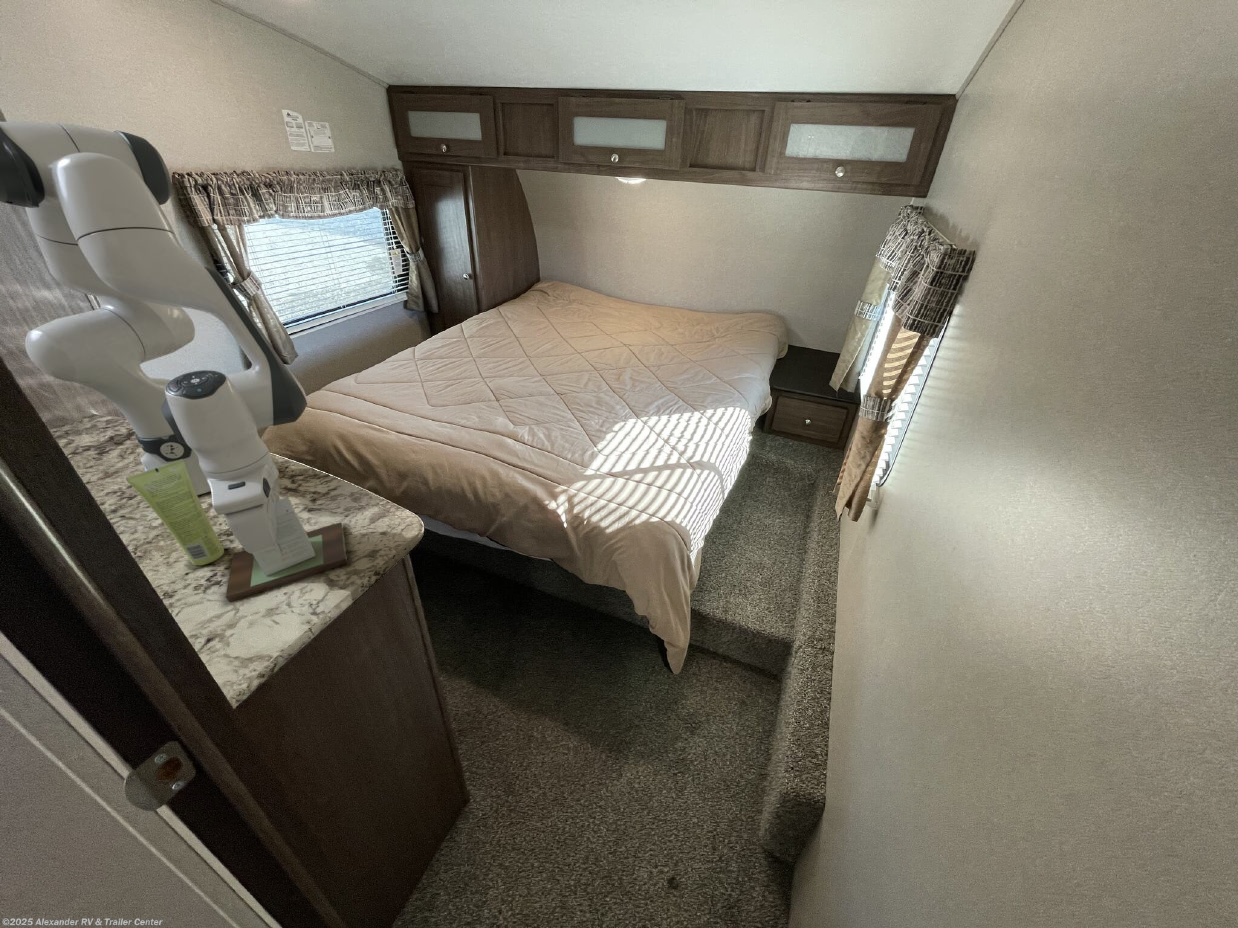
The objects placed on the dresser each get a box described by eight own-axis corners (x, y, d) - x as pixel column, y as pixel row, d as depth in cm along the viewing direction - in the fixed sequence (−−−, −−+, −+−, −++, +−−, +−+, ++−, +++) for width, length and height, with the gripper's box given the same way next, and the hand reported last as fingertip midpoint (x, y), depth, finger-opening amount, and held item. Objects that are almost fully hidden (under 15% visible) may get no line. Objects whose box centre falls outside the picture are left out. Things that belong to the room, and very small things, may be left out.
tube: (206, 546, 93) (152, 459, 82) (233, 545, 93) (182, 458, 83) (185, 567, 88) (124, 477, 78) (213, 566, 88) (156, 476, 78)
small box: (310, 540, 92) (289, 495, 86) (316, 556, 88) (294, 510, 82) (260, 559, 87) (234, 513, 82) (265, 577, 84) (238, 530, 78)
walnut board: (235, 558, 90) (232, 553, 89) (343, 526, 97) (341, 521, 96) (228, 602, 81) (225, 596, 80) (347, 563, 88) (345, 558, 87)
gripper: (227, 449, 84) (260, 512, 92) (210, 513, 69) (252, 583, 76) (269, 440, 87) (298, 502, 94) (262, 500, 71) (297, 568, 79)
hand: (277, 539), depth 85 cm, fingers open, 8 cm apart
